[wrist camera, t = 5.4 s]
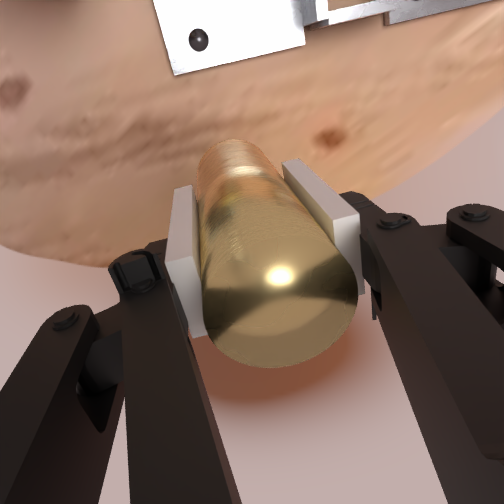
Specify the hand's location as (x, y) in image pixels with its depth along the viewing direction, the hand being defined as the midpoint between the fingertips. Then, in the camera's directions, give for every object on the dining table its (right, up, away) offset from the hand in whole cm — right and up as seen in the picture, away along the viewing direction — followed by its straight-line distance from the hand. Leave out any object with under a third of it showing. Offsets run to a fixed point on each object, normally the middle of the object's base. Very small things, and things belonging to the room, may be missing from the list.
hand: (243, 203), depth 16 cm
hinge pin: (-1, +2, +4) cm, 4 cm away
